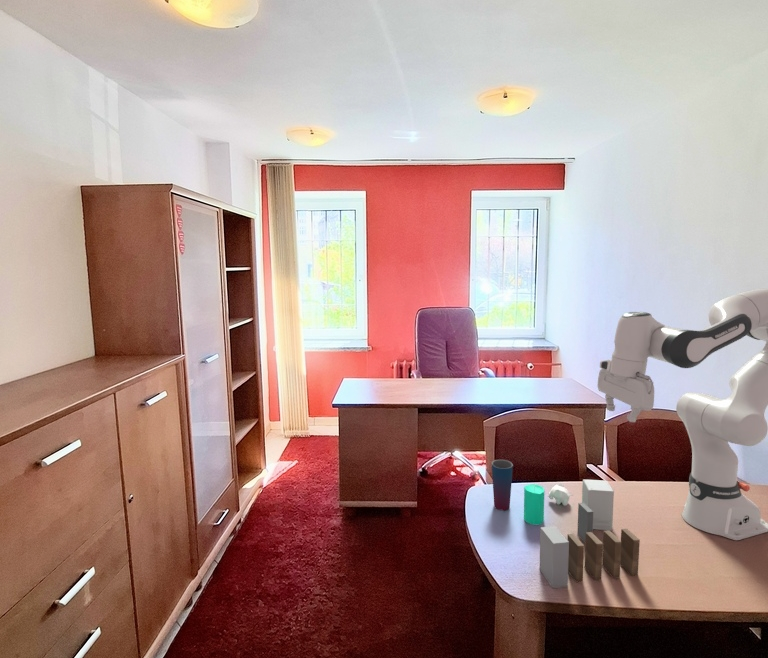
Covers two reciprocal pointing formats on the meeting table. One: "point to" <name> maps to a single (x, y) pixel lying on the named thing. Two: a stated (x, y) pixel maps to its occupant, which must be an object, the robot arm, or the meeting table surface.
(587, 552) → the domino
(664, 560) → the meeting table surface
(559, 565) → the end block
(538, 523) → the candle
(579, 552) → the domino
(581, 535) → the gray domino
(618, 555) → the domino
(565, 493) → the elephant figurine
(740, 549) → the meeting table surface
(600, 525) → the supplement box
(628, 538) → the domino
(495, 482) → the cup
